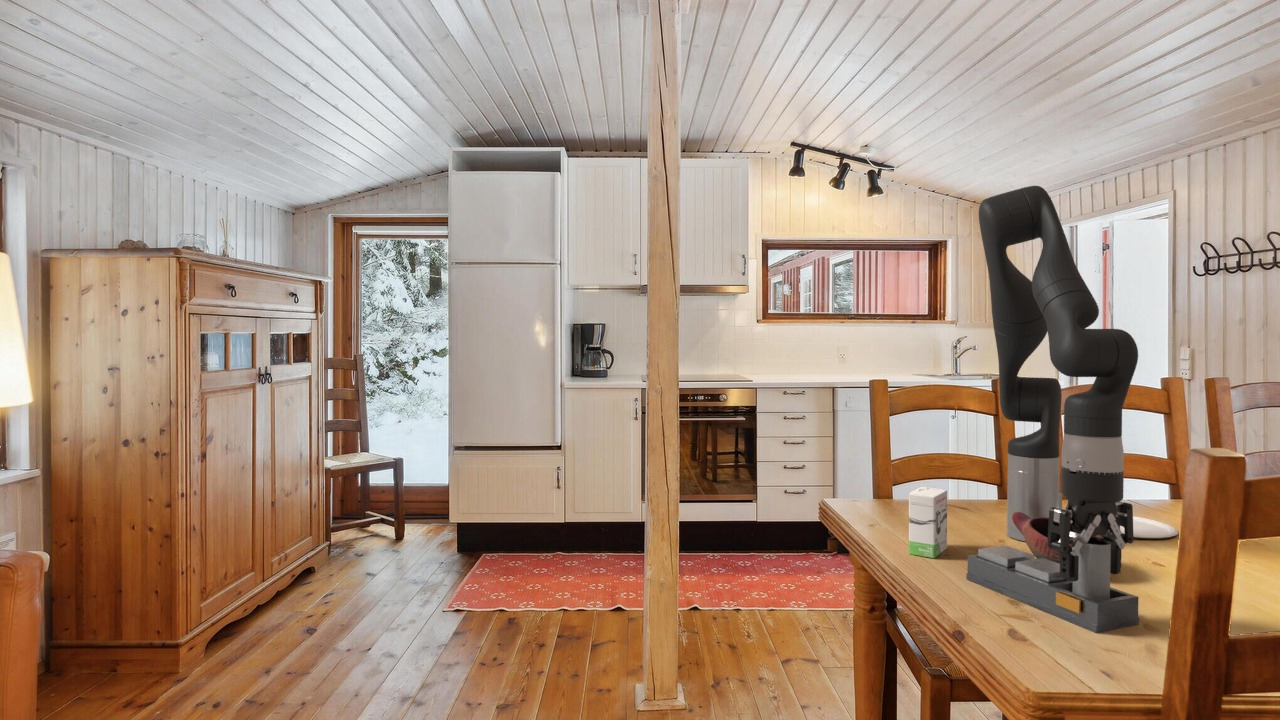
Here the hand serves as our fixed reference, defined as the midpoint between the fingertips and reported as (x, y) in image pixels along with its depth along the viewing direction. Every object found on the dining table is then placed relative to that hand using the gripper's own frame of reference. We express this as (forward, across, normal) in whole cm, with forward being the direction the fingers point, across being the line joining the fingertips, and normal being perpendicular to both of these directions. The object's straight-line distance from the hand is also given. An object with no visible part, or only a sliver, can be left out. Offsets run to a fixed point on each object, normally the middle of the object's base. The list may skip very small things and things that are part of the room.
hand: (1090, 576), depth 97 cm
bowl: (+6, -16, -18) cm, 25 cm away
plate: (+7, -53, -33) cm, 63 cm away
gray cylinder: (+5, 0, 0) cm, 5 cm away
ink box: (+6, -1, -33) cm, 34 cm away
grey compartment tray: (+6, 0, -7) cm, 10 cm away
